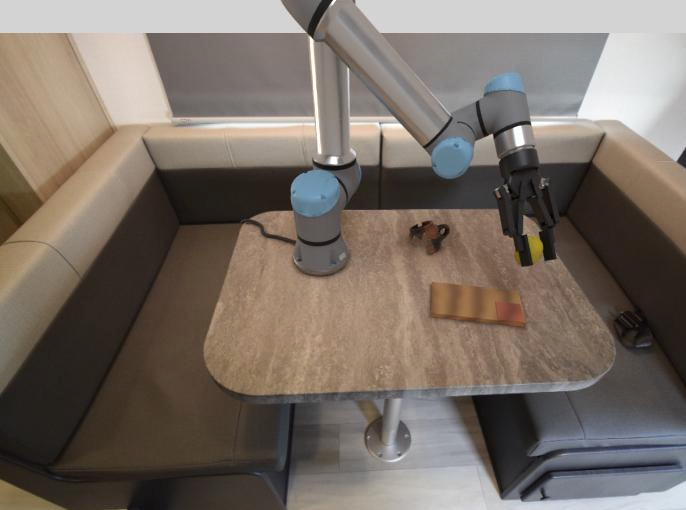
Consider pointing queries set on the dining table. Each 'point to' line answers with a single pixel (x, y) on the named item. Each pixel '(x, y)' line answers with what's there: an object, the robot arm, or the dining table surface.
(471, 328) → the dining table surface
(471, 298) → the board
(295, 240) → the robot arm
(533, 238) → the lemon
